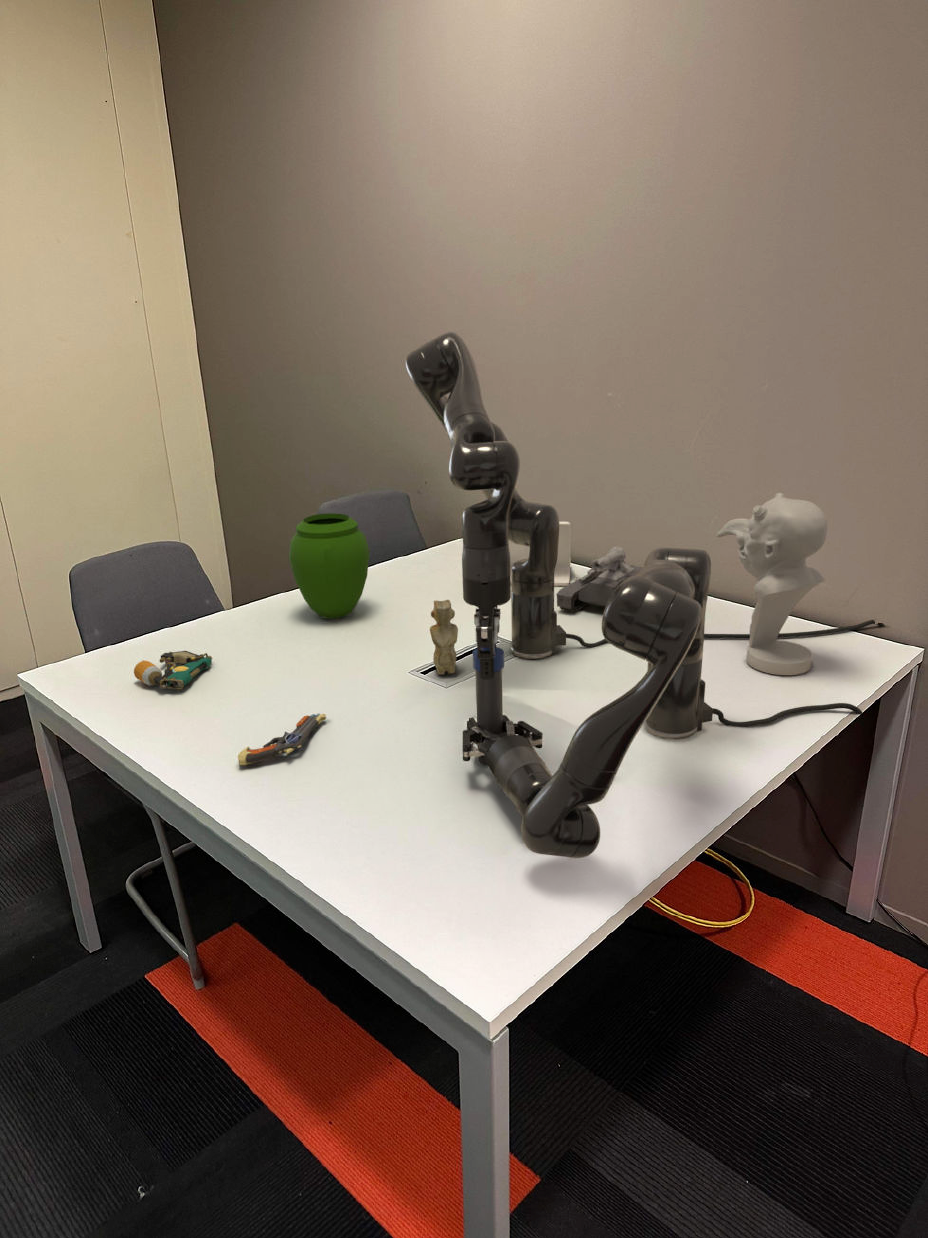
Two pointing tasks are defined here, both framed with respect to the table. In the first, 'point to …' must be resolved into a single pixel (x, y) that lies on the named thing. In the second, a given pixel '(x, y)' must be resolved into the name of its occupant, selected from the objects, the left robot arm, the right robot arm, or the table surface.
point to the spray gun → (172, 669)
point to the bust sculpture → (778, 575)
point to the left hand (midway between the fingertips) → (488, 670)
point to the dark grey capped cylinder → (489, 704)
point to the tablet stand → (562, 561)
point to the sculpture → (444, 637)
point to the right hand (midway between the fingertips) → (484, 720)
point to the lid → (497, 659)
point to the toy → (597, 582)
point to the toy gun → (282, 741)
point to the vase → (329, 563)
